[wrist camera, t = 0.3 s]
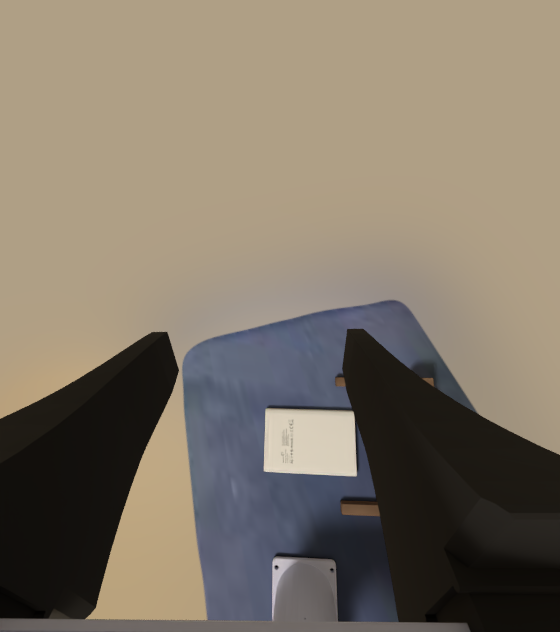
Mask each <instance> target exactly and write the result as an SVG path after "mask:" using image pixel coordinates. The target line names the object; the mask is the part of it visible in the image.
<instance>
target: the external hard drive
mask: <svg viewBox="0 0 560 632" xmlns="http://www.w3.org/2000/svg"><path fill="white" fill-rule="evenodd" d="M264 471H265V472H282V473H299V474H319V475H338V476H357V466H356V441H355V417H354V412H353V411H351V410H314V409H280V408H266V413H265V449H264Z"/></svg>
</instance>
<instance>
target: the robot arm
mask: <svg viewBox="0 0 560 632" xmlns="http://www.w3.org/2000/svg"><path fill="white" fill-rule="evenodd" d="M342 369H343V374H344V380H345V385H346V390H347V394H348V397H349V400H350V403H351V406H352V409H353V412H354V415H355V418H356V421H357V424H358V428H359V431H360V434H361V437H362V440H363V443H364V446H365V450H366V453H367V457H368V462H369V466H370V471H371V475H372V480H373V484H374V489H375V494H376V499H377V503H378V508H379V513H380V518H381V524H382V529H383V534H384V539H385V545H386V550H387V555H388V561H389V567H390V573H391V578H392V584H393V590H394V596H395V602H396V609H397V615H398V620H399V622H338V610H337V583H336V564H335V561H334V560H332V559H316V558H297V557H279V556H276V557H274V558H273V586H272V621H210V620H105V619H86V618H87V617H88V616H89V615H90V614H91V613H92V611H93V610H94V609H95V608H96V604H97V600H98V596H99V592H100V589H101V584H102V581H103V578H104V574H105V570H106V567H107V563H108V559H109V555H110V552H111V548H112V545H113V542H114V539H115V535H116V532H117V529H118V525H119V522H120V519H121V515H122V512H123V509H124V506H125V503H126V500H127V497H128V494H129V491H130V488H131V485H132V483H133V480H134V477H135V474H136V472H137V469H138V466H139V463H140V460H141V458H142V455H143V453H144V451H145V449H146V446H147V444H148V442H149V440H150V438H151V436H152V433H153V432H154V429H155V427H156V425H157V423H158V421H159V419H160V417H161V415H162V413H163V411H164V409H165V406H166V404H167V402H168V400H169V398H170V396H171V394H172V391H173V388H174V385H175V382H176V378H177V375H178V371H179V369H178V366H177V363H176V359H175V356H174V353H173V350H172V346H171V343H170V339H169V336H168V333H167V332H152V333H150V334H148V335H147V336H145V337H143V338H142V339H140V340H138V341H137V342H135V343H134V344H133V345H131V346H129V347H128V348H126V349H125V350H123V351H122V352H120V353H119V354H117V355H116V356H114V357H113V358H111V359H110V360H108V361H106V362H105V363H103V364H102V365H101V366H99V367H97V368H95V369H94V370H92V371H90V372H89V373H87V374H85V375H84V376H82V377H81V378H79V379H77V380H76V381H74V382H72V383H70V384H69V385H67V386H65V387H63V388H62V389H60V390H58V391H56V392H54V393H53V394H50V395H49V396H47V397H45V398H43V399H41V400H39V401H37V402H35V403H33V404H31V405H29V406H27V407H25V408H22V409H20V410H19V411H16V412H14V413H12V414H10V415H7V416H5V417H3V418H1V419H0V632H560V455H559V454H556V453H554V452H552V451H550V450H547V449H545V448H543V447H541V446H538V445H536V444H534V443H532V442H530V441H528V440H526V439H524V438H522V437H520V436H518V435H516V434H514V433H512V432H510V431H508V430H506V429H504V428H502V427H500V426H498V425H497V424H495V423H493V422H491V421H489V420H487V419H486V418H483V417H482V416H480V415H479V414H477V413H475V412H473V411H472V410H470V409H468V408H466V407H465V406H463V405H461V404H460V403H458V402H456V401H455V400H453V399H452V398H450V397H448V396H447V395H445V394H444V393H442V392H441V391H439V390H438V389H436V388H435V387H433V386H432V385H430V384H429V383H428V382H426V381H425V380H423V379H422V378H421V377H419V376H418V375H417V374H415V373H414V372H413V371H411V370H410V369H409V368H408V367H406V366H405V365H404V364H403V363H401V362H400V361H399V360H398V359H397V358H395V357H394V356H393V355H392V354H391V353H390V352H388V351H387V350H386V349H385V348H384V347H383V346H382V345H381V344H379V343H378V342H377V341H376V340H375V339H374V338H373V337H372V336H371V335H370V334H368V333H367V332H366V331H365V330H364V329H347V336H346V344H345V352H344V359H343V367H342ZM275 565H278V568H276V567H275ZM331 568H333V569H334V570H333V571H331V570H330V569H331Z"/></svg>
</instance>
